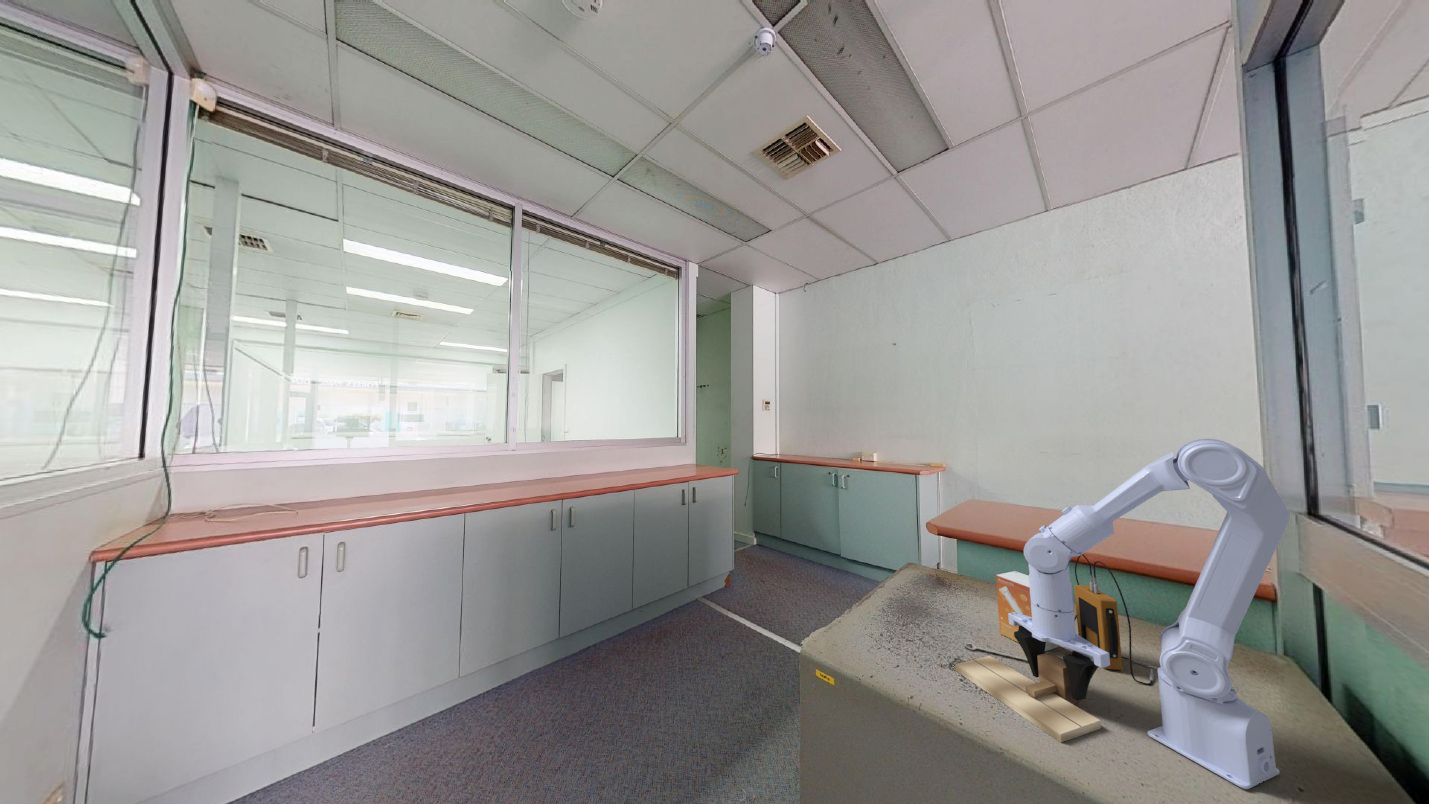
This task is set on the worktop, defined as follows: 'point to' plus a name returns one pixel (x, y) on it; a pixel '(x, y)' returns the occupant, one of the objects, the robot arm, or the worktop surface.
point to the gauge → (1052, 678)
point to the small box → (1014, 602)
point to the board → (1028, 699)
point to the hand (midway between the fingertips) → (1058, 686)
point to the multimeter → (1102, 621)
